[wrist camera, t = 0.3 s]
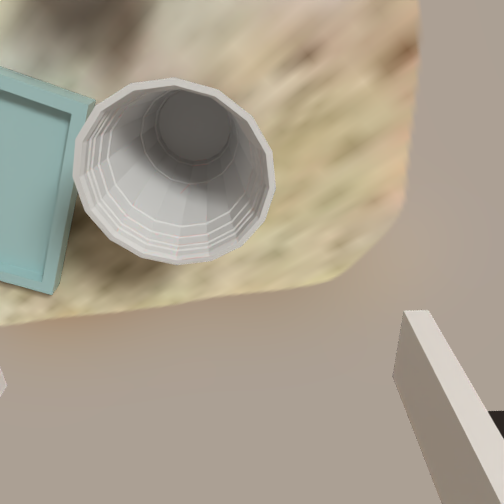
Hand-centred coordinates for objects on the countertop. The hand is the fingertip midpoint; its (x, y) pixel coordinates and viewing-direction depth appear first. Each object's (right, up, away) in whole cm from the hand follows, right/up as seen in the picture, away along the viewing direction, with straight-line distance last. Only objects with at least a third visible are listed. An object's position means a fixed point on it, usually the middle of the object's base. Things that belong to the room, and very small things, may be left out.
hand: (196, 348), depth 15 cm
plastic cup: (-2, +13, +20) cm, 24 cm away
